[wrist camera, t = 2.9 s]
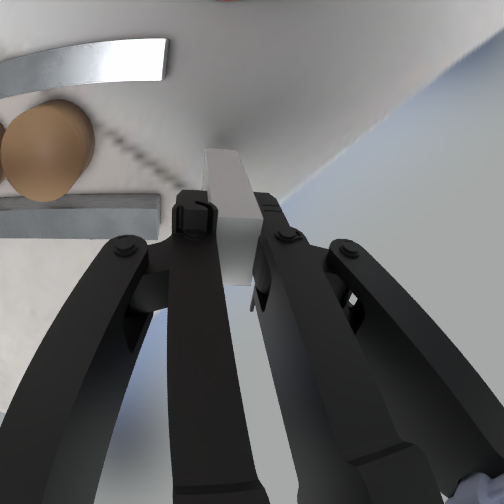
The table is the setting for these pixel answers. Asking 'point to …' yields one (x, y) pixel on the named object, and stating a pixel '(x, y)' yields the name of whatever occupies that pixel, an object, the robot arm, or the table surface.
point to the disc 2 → (47, 150)
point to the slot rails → (86, 205)
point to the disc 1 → (0, 133)
